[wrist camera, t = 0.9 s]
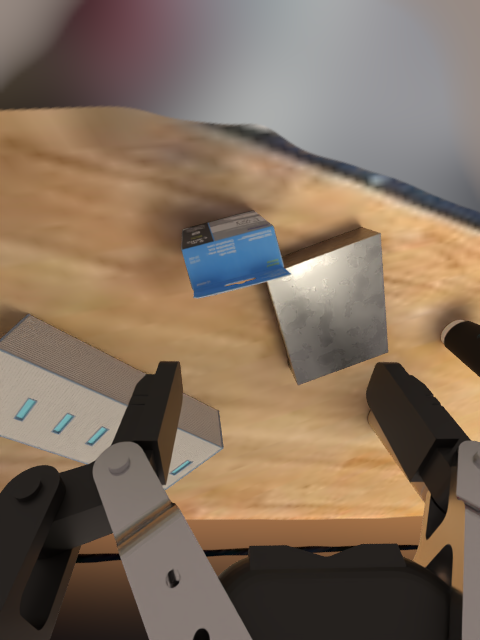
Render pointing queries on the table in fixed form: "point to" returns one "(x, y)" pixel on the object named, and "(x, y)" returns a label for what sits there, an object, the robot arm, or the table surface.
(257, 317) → the table surface
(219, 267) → the label tape box
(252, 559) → the robot arm
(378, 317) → the brushed metal plate
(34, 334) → the warehouse
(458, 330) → the dixie cup
